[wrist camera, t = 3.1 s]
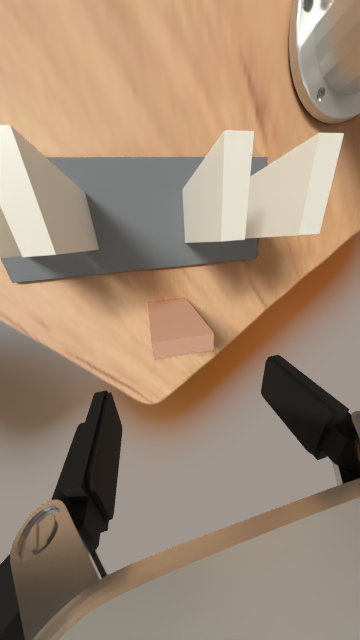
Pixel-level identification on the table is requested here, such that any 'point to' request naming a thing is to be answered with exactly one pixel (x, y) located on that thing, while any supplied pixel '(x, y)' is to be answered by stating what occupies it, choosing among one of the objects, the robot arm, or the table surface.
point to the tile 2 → (41, 201)
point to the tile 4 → (220, 191)
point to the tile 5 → (293, 189)
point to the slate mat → (133, 220)
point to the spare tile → (178, 329)
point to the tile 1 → (7, 239)
